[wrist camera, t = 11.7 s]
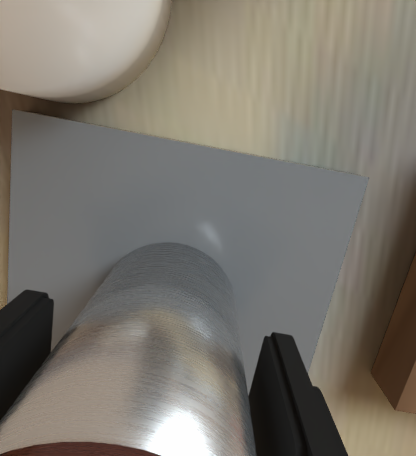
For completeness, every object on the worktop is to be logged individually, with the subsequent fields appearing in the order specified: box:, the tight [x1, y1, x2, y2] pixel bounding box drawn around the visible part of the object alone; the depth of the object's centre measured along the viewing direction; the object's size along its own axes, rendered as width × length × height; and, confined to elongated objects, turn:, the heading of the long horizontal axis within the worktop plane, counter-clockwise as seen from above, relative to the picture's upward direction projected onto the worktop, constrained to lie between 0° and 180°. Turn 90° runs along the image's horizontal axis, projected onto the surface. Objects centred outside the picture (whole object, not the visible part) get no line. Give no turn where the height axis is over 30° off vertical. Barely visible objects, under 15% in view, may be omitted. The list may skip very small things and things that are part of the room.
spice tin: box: [0, 242, 256, 456], centre depth 8 cm, size 5×5×9 cm
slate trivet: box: [7, 110, 369, 396], centre depth 13 cm, size 12×12×1 cm
